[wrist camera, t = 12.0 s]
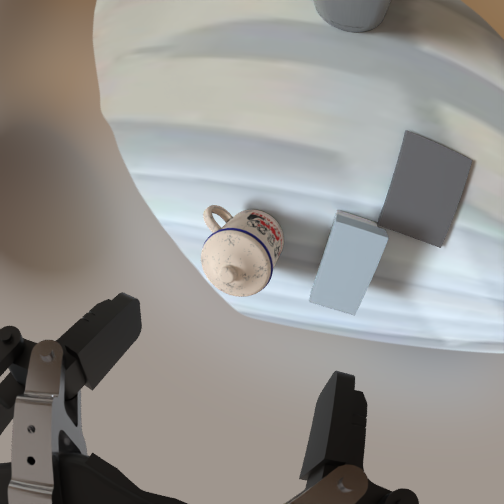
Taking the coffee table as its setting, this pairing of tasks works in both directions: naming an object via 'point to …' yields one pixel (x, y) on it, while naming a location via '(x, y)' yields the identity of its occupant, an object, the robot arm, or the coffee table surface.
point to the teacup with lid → (241, 250)
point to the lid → (348, 264)
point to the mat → (424, 190)
